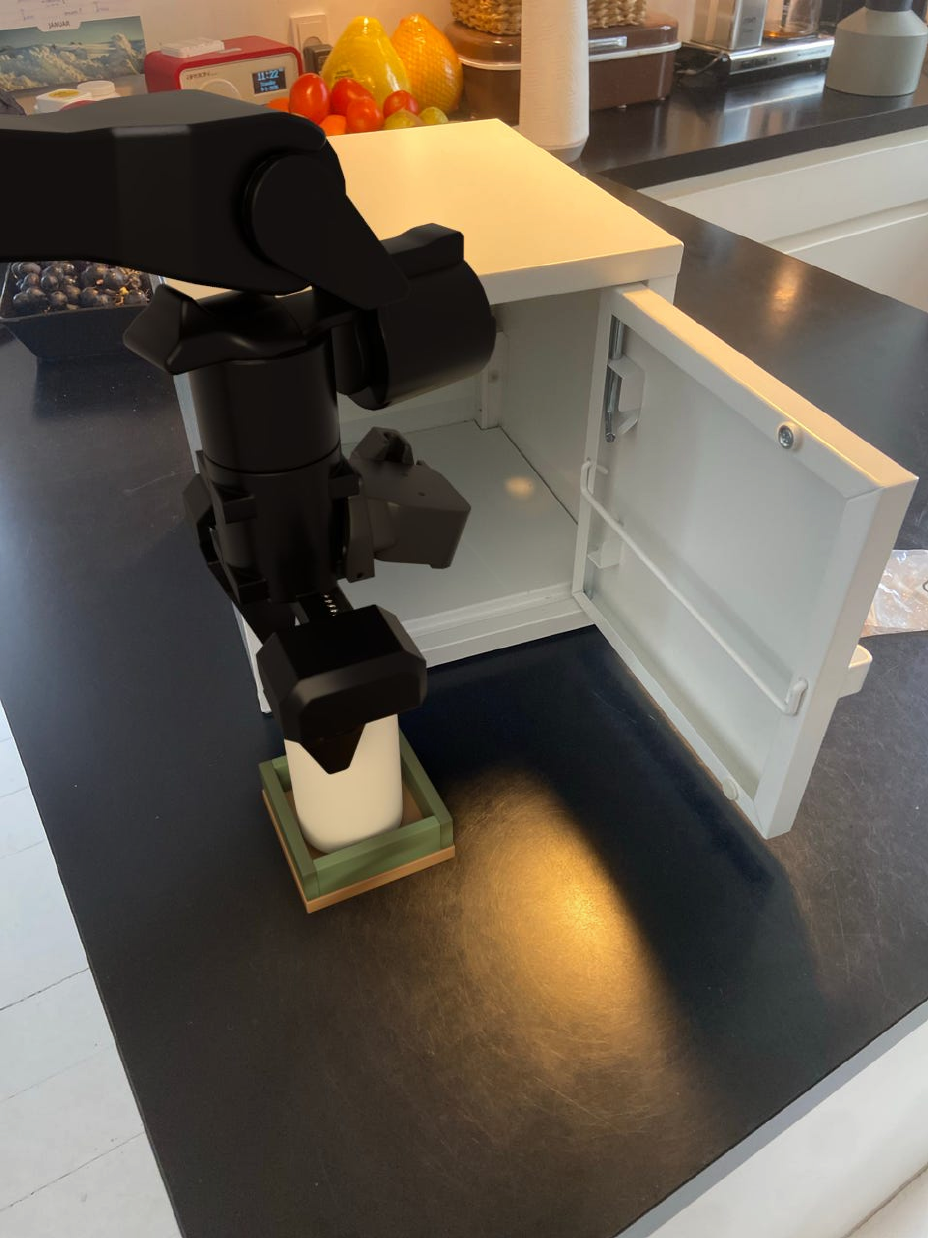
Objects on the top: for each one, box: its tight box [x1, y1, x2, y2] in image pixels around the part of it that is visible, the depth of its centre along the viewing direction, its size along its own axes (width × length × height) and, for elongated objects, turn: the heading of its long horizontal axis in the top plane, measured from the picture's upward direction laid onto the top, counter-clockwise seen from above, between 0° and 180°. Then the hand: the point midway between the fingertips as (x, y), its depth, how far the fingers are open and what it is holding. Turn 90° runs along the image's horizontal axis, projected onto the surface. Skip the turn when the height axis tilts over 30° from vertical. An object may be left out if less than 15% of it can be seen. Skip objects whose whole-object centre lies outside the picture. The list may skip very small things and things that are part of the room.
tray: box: [257, 725, 456, 914], centre depth 56 cm, size 9×9×4 cm
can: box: [283, 714, 403, 854], centre depth 53 cm, size 6×6×12 cm
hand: (308, 710), depth 48 cm, fingers open, 9 cm apart
